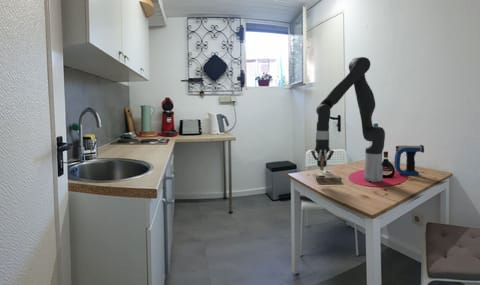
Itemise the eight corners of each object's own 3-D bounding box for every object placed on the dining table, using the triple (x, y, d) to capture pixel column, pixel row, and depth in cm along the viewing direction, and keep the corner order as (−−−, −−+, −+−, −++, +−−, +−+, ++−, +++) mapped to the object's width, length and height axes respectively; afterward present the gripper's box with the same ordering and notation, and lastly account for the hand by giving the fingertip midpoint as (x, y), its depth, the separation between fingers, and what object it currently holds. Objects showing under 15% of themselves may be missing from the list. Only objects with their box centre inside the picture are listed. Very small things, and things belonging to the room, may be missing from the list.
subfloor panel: (332, 175, 179) (332, 173, 179) (341, 184, 159) (341, 182, 158) (311, 175, 181) (311, 173, 180) (317, 184, 160) (317, 182, 160)
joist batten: (339, 180, 163) (339, 175, 163) (341, 182, 158) (341, 177, 158) (315, 180, 165) (315, 175, 164) (317, 182, 160) (317, 177, 159)
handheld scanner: (423, 175, 172) (425, 145, 170) (395, 175, 175) (397, 145, 173) (419, 174, 176) (421, 144, 174) (393, 173, 180) (394, 144, 177)
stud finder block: (330, 176, 172) (330, 170, 171) (333, 179, 165) (333, 172, 164) (322, 176, 173) (322, 170, 172) (324, 179, 166) (324, 172, 165)
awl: (323, 169, 162) (323, 154, 161) (324, 170, 159) (324, 155, 158) (319, 169, 162) (319, 154, 161) (320, 170, 159) (320, 155, 158)
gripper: (311, 139, 155) (311, 168, 157) (336, 138, 154) (335, 168, 156) (309, 137, 162) (308, 165, 165) (332, 137, 161) (332, 165, 164)
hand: (321, 166), depth 160 cm, fingers closed on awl, 2 cm apart
